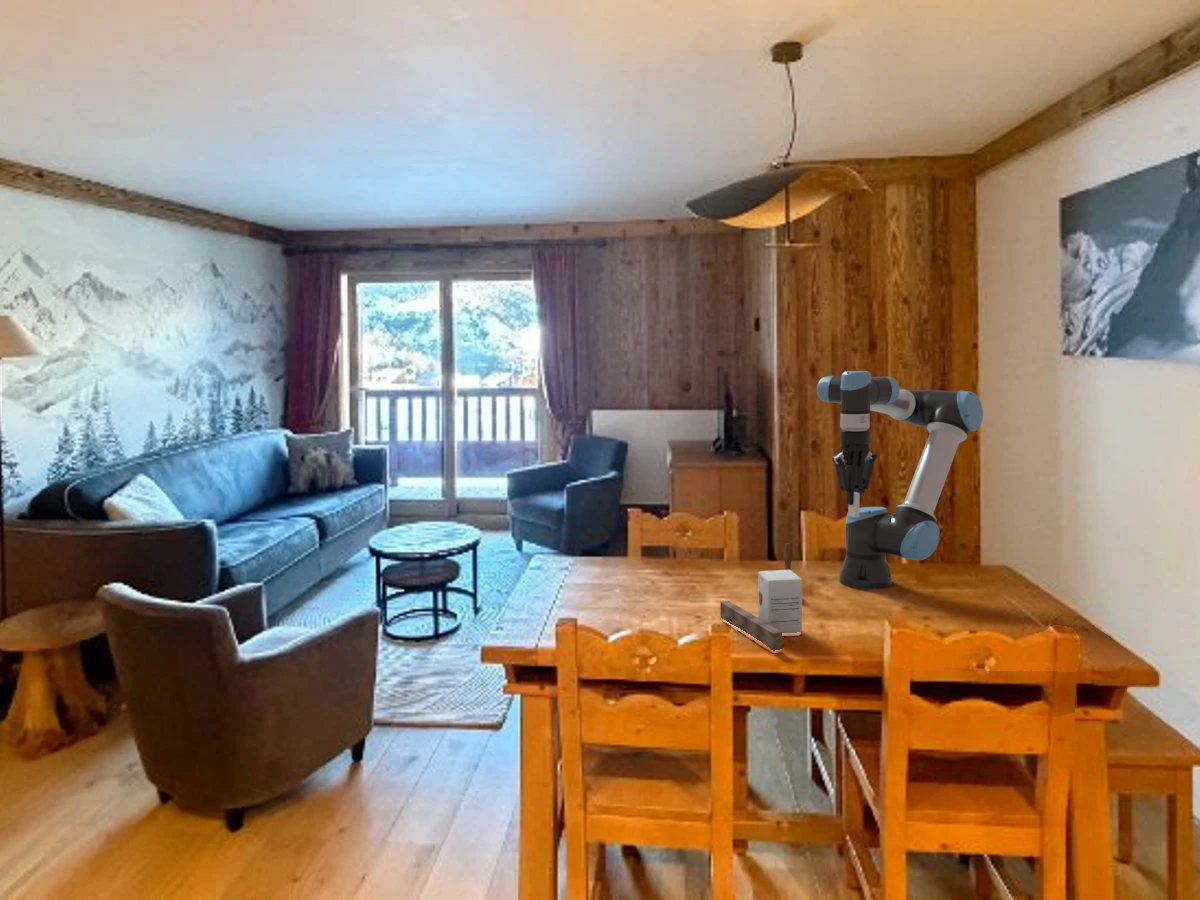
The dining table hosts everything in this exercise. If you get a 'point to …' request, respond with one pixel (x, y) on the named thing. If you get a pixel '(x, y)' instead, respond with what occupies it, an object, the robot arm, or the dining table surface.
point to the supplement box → (780, 600)
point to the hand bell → (788, 556)
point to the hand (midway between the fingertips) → (853, 516)
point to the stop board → (752, 625)
